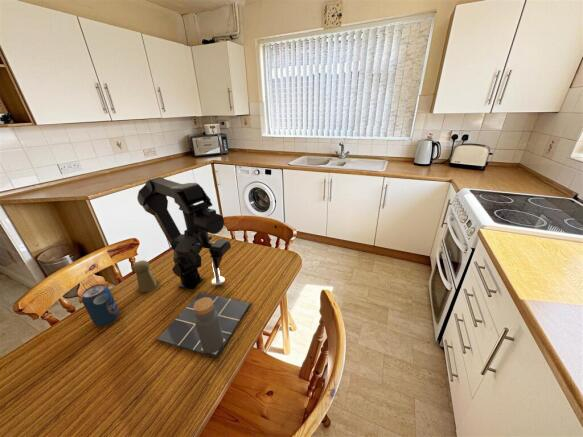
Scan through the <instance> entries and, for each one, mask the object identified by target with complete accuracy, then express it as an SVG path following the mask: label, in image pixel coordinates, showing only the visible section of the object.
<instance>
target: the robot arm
mask: <svg viewBox="0 0 583 437" xmlns="http://www.w3.org/2000/svg"><path fill="white" fill-rule="evenodd" d="M167 197H169V198H172V199H173V202H174V204H176V205H177V206H179V207H178V210H179V211H181V212H182V216H183V219H184V223H185V224H184V225H185V228H186V229H185V230H183V233H181V231H180V229H179V227H178V226H177V224H176V222H175V221H174V219H173V217H172V215H171V213H170V211H169V209H168V207H169V199H168V198H167ZM136 198H137V202H138V204H139V205H140V206H141V207H142V208H143V209H144V211H145V212H146V213H148V214H150V215H152V216H154V218H155V220H156V222H157V224H158V225H159V227H160V229H161V231H162V233H163V234H164V236H165V238H166V240H167V241H168V243H169V245H170V247H171V250H172V251H173V257H172V258H173V259H172V260H173V262H174V265H173V267H172V268H171V270H172V272H173V274H174V275H175V276H177V277H178V278H179V279H180V282H181V283H180V284H179V285H178V287H179V288H180V289H185V290H190V291H193V290H195V289H196V288H197V287H198V285H200V284H201V283H202V281H203V280H204V278H203V277H201V275H200V272H199V268H201V267H202V257H201V256H202V255H200V253H201V252H202V249H207V250H208V249H209V250H208V251H209V254H210V256H209V257H210V258H211V259H212V258H213V260H214V264H215V268H216V269H220V265H221V261H222V258H223V256H224V255H226V253H227V252H228V251H229V250H230V249H231V248H232V245H231V241H229V240H227V239H219V238H218V239H217V240H216V241H214V242H212V241H210V240H212V239H213V236H212V235H216V234H218V233H220V232H221V231H222V230H223V228H224V226H225V220H224V218H223V216H222V215H221V214H219V213H217V210H216V209H214V208H210V207H213V203H212V200H211V198H210V197H209V196H208V195H207V193H206V191H205V190H204V188H203V187H202V186H201V185H200V184H199V183H197V182H188V183H187V182H186V183H180V182H176V181H173V180H169V179H166V178H164V177H162V176H158V177H154V178H150V179H147V180H146V182H145V184H144V185H143V186H142V187H141V188H140V189H139V190H138V193H137V197H136ZM209 233H210V234H212V235H209Z"/></svg>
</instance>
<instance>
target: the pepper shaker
mask: <svg viewBox="0 0 583 437" xmlns="http://www.w3.org/2000/svg"><path fill="white" fill-rule="evenodd" d="M132 270H133V273H135V274H136V280H137V286H138V290H139V292H141V293H148V292H150V291H151V292H152V290H154V289H155V288H157V286H158V283H157V281H156V279H155V276H154V275H153V274H152V272H151V270H150V263H149V262H148V261H147V260H145V259H144V260H143V259H142V260H138V261H136V262H134V263H133V265H132Z"/></svg>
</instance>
